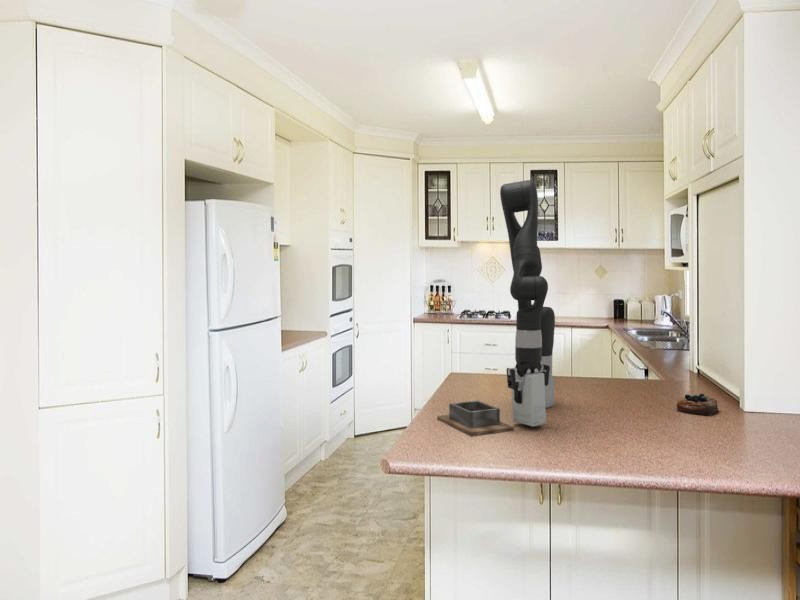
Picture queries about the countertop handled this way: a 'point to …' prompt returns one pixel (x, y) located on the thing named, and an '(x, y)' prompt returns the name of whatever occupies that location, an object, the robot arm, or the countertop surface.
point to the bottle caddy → (475, 418)
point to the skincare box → (531, 401)
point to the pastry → (697, 405)
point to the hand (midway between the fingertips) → (528, 401)
